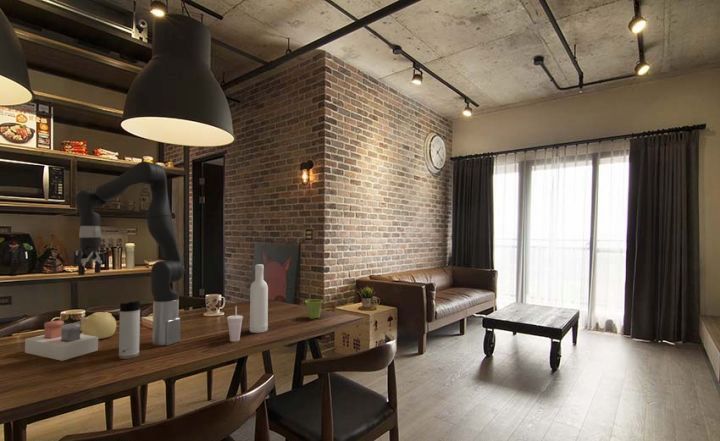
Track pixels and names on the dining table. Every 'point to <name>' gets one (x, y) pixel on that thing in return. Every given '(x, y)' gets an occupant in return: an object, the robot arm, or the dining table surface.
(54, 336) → the pink gift box
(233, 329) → the smoothie
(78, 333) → the grey cube
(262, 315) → the bottle
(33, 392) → the dining table surface
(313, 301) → the plant pot
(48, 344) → the socket panel
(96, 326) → the pale yellow round lump
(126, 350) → the travel mug
